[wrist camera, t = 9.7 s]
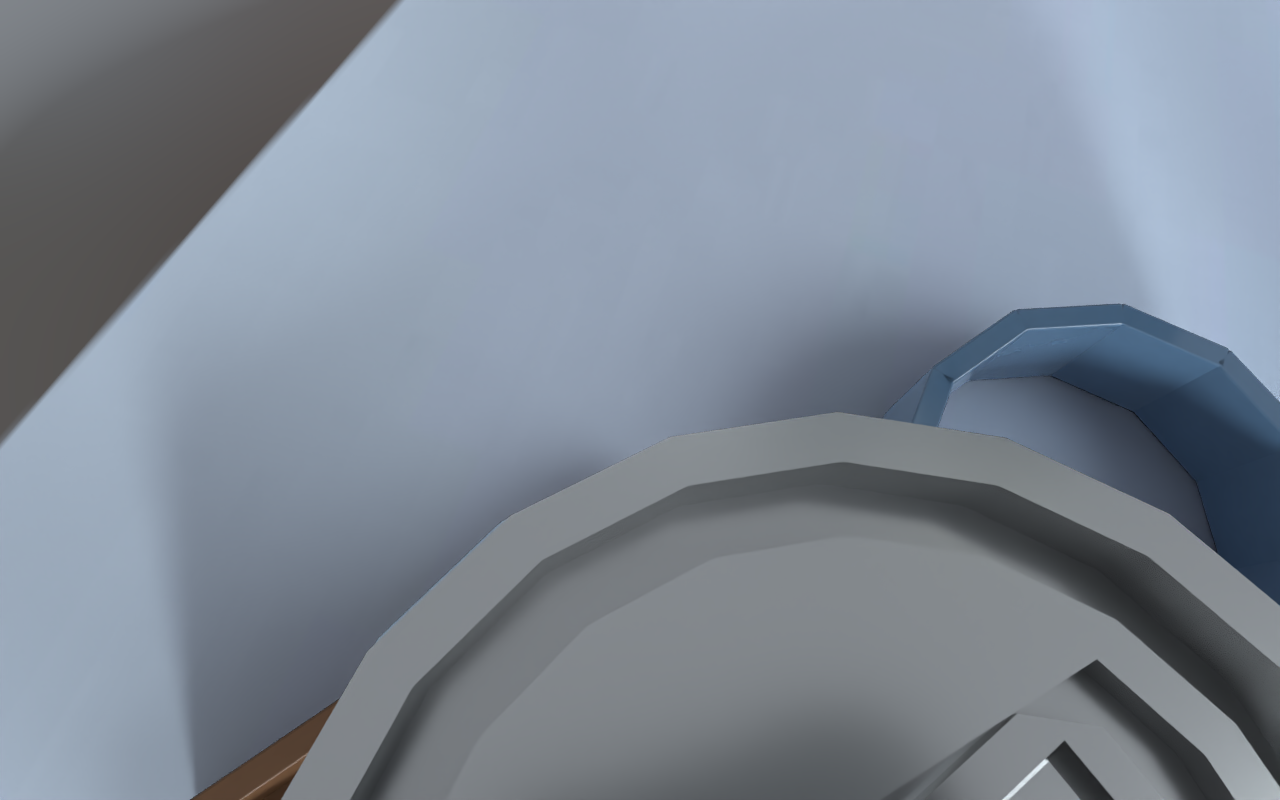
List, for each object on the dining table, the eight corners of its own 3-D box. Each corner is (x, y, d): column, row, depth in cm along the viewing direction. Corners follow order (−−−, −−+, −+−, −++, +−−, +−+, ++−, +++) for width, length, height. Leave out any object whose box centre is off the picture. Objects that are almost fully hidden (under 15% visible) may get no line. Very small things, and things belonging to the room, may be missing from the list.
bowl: (1318, 589, 23) (1441, 570, 20) (1042, 841, 21) (1131, 866, 17) (1051, 295, 25) (1121, 233, 22) (776, 489, 23) (809, 453, 20)
